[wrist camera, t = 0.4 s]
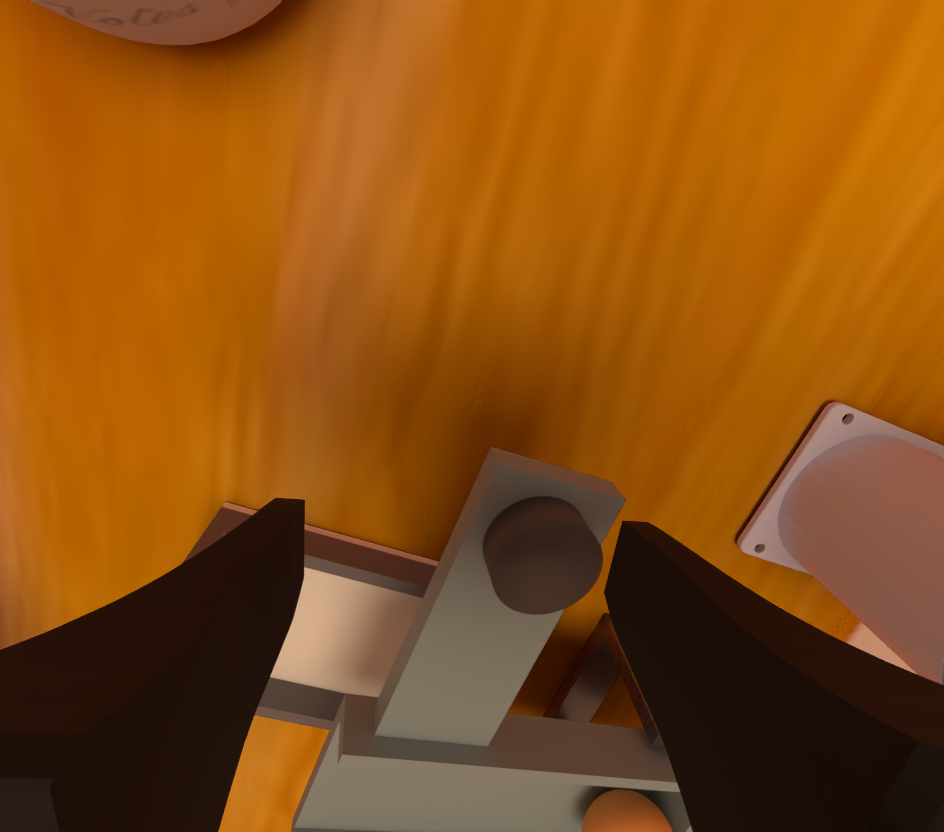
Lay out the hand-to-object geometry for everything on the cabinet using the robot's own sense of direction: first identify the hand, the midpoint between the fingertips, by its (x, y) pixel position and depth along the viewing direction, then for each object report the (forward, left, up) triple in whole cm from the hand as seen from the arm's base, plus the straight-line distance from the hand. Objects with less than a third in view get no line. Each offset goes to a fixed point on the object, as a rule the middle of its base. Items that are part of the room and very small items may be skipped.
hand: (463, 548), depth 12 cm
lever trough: (-9, +7, -6) cm, 12 cm away
